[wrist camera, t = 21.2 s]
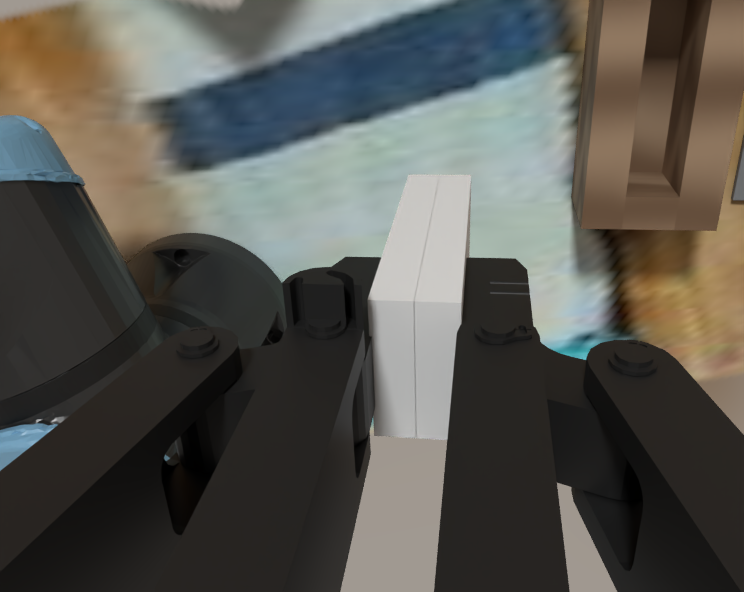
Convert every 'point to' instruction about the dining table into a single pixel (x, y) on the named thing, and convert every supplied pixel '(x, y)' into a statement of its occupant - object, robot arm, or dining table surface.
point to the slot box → (657, 113)
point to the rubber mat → (739, 178)
